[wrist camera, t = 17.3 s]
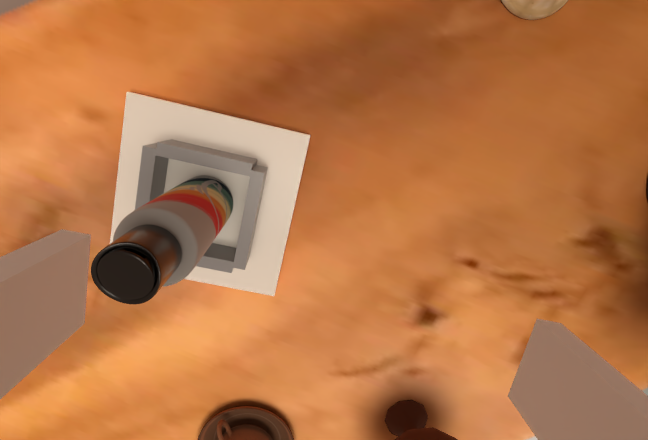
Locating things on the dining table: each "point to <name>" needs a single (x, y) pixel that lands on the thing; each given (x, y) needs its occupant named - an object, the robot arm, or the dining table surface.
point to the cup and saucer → (246, 425)
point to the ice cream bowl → (412, 422)
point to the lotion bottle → (162, 240)
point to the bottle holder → (224, 164)
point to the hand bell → (533, 8)
